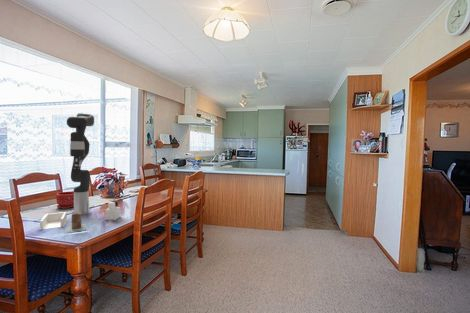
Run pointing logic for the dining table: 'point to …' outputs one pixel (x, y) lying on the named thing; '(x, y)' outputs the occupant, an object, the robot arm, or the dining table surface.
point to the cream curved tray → (53, 220)
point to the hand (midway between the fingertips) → (77, 174)
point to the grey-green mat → (76, 229)
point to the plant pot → (65, 199)
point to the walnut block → (76, 220)
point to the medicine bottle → (112, 211)
